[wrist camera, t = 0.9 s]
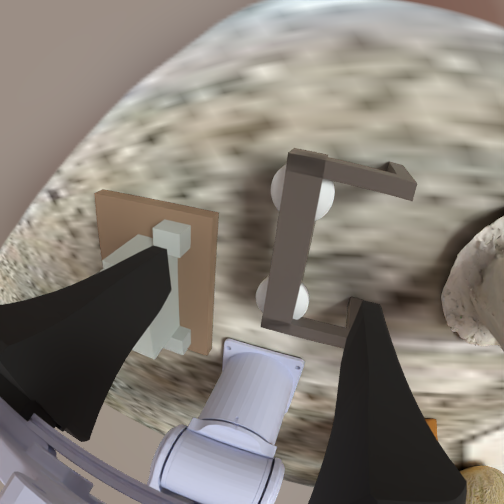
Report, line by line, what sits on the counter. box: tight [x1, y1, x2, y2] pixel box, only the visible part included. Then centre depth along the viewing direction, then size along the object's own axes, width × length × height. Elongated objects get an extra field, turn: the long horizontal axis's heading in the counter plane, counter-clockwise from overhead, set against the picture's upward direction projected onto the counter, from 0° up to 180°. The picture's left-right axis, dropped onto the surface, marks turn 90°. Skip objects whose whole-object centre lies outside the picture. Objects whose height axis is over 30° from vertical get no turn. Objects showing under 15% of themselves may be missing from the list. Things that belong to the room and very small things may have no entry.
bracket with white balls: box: [256, 148, 417, 348], centre depth 20 cm, size 8×12×5 cm, turn 173°
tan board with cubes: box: [95, 190, 219, 359], centre depth 27 cm, size 12×15×6 cm
